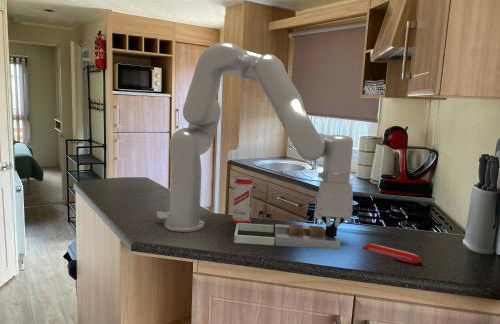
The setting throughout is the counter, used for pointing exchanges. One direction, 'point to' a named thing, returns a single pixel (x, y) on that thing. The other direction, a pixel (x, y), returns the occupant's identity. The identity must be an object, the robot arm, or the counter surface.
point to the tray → (254, 238)
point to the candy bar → (394, 253)
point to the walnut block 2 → (316, 231)
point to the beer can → (242, 200)
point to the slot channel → (304, 239)
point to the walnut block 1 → (296, 230)
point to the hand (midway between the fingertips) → (330, 238)
